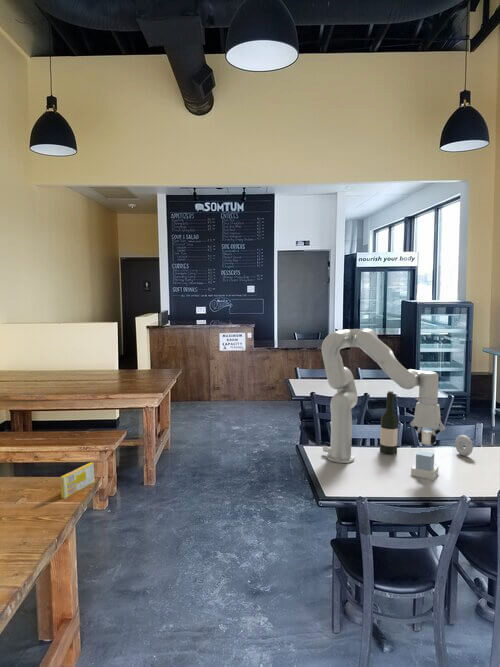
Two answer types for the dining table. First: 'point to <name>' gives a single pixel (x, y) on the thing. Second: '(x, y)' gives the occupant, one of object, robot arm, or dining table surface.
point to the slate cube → (425, 460)
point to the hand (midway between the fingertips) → (426, 442)
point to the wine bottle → (389, 428)
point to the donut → (467, 443)
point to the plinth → (424, 472)
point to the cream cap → (426, 437)
